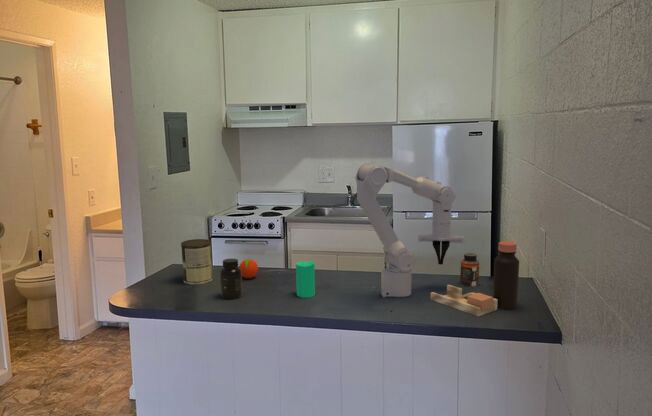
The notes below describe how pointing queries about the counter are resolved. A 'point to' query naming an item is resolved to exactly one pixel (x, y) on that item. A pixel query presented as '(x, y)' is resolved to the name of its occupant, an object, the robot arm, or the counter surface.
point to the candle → (305, 279)
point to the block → (480, 300)
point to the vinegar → (506, 276)
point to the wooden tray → (461, 301)
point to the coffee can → (196, 261)
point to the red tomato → (248, 268)
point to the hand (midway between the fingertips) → (440, 263)
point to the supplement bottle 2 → (469, 270)
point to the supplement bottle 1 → (231, 279)
